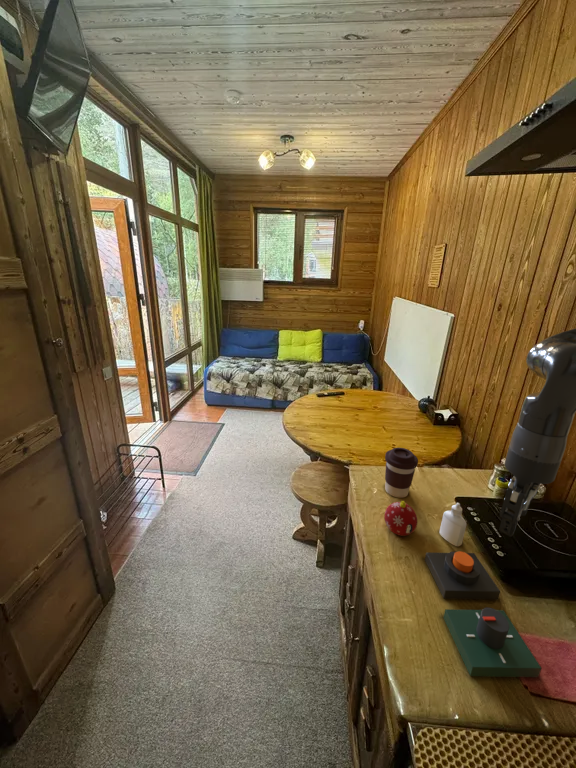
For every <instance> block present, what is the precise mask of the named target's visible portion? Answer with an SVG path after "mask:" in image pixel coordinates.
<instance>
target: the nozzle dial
mask: <svg viewBox="0 0 576 768" xmlns="http://www.w3.org/2000/svg"><path fill="white" fill-rule="evenodd" d="M481 610H482V611H481V614H480V618H479V621H478V625H477V628H476V631H477V634H478V636H479V638H480V639H481V641H482V642H483V643H485V644H486V645H487V646H489V647H491V648H493V649H500V648H502V647H503V645H504V642H505V639H506V636H507V634H508V631H509V623H508V621H507V619H506V618H505V617H504V616H503V615H502V614H501V613H500V612H499V611H497V610H498V609H495V608H493V607H484V608H482V609H481Z"/></svg>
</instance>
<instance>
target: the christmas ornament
mask: <svg viewBox="0 0 576 768" xmlns="http://www.w3.org/2000/svg"><path fill="white" fill-rule="evenodd" d="M384 522H385V524H386V527H387V528H388V530H390V532H392V533H393V534H395V535H397V536H403V537H405V536H409V535H411V534H412V533H414V532H415V530H416V529H417V526H418V516H417V513H416V511H415V510H414V509H413V507H412V506H410V504H408V503H406V502H405V500H401V501H394V502H391V503H390V504H388V506H387V507H386V508H385V511H384Z"/></svg>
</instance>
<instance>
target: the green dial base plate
mask: <svg viewBox="0 0 576 768" xmlns="http://www.w3.org/2000/svg"><path fill="white" fill-rule="evenodd" d="M482 610H483V609H448V608H447V609H445V610H444V613H443V620H444V623H445V625H446V627H447V629H448V631H449V633H450V636H451V638H452V640H453V642H454V644H455V646H456V648H457V650H458V653H459V654H460V657H461V659H462V661H463V663H464V666H465V668H466V671H467V672H468V675H469V676H470V677H498V678H499V677H501V678H502V677H503V678H504V677H505V678H506V677H507V678H508V677H509V678H539V676H540V675H541V671H542V666H541V665H540V663H539V662H538V660H537V659H536V657H535V656H534V654H533V653H532V651H531V649H530V648H529V647H528V645H527V644H526V642H525V640H524V639H523V637H522V635H521V634H520V633H519V631H518V630H517V628H516V626H515V625H514V623H513V622H512V621H511V619H510V618H509V616H508V615H507V613H506V612H505V610H503V609H496V610H497V611H499V612H500V613H501V614H502V615H503V616H504V617H505V618H506V619H507V621H508V623H509V631H508V634H507V636H506V639H505V642H504V645H503V647H502V648H500V649H493V648H491V647H489V646H487V645H486V644H485V643H483V642H482V641H481V639H480V638H479V636H478V634H477V631H476V628H477V625H478V621H479V618H480V614H481V611H482Z"/></svg>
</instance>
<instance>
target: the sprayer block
mask: <svg viewBox="0 0 576 768" xmlns="http://www.w3.org/2000/svg"><path fill="white" fill-rule="evenodd" d="M455 552H456V551H450V552H425V555H424V562H425V564H426V566H427V568H428V569H429V571H430V574H431V576H432V578H433V580H434V582H435V585H436V586H437V588H438V590H439V592H440V594H441V597H442V599H445V600H446V599H448V600H451V599H452V600H453V599H454V600H455V599H456V600H461V599H462V600H499V598H500V594H501V590H500V588H499V587H498V586H497V584H496V583H495V581H494V580H493V579H492V577H491V576H490V573H488V571H487V569H486V568H485V567H484V565H483V564H482V563H481V561H480V559H479V558H478V557H477V555H476V553H474V552H465V553H466V554H468V555H469V556H471V557H472V559H473V561H474V565H473V568H472V571H471V572H470V573H464V572H462V571H459V570H458V569H457V568H455V567H454V565H453V557H454V553H455Z"/></svg>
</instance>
